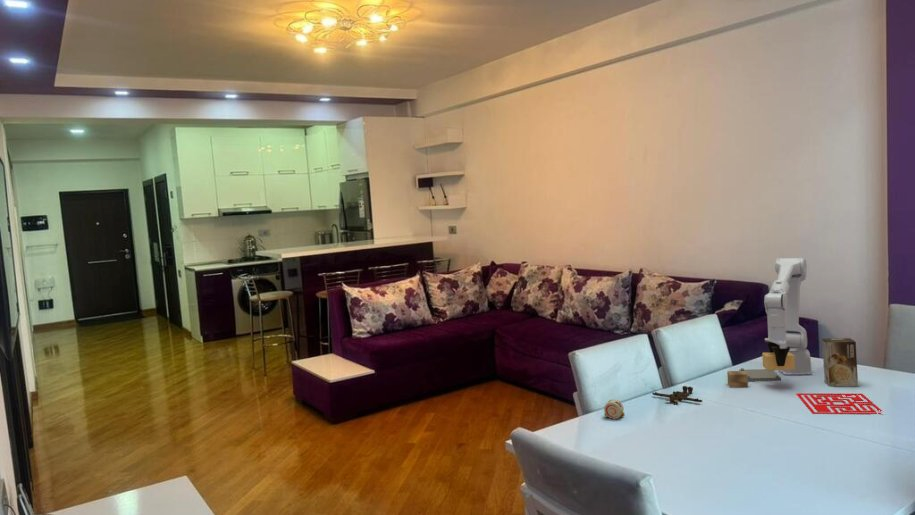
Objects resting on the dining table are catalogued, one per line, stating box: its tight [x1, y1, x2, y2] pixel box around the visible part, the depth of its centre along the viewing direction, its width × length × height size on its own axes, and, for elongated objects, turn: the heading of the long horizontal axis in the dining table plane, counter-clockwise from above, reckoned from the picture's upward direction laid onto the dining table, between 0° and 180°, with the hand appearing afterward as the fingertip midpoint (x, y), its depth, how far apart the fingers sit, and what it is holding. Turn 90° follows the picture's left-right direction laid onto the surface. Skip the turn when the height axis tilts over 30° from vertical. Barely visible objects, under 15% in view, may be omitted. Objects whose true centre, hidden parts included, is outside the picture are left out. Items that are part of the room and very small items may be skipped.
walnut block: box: [726, 370, 749, 389], centre depth 226 cm, size 6×4×5 cm
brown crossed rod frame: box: [651, 385, 703, 404], centre depth 218 cm, size 18×4×14 cm
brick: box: [761, 352, 795, 371], centre depth 221 cm, size 9×6×5 cm, turn 79°
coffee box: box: [821, 337, 859, 388], centre depth 218 cm, size 9×6×16 cm
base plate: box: [738, 367, 782, 383], centre depth 235 cm, size 12×12×2 cm
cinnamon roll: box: [603, 398, 625, 420], centre depth 204 cm, size 4×6×6 cm
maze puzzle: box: [795, 392, 883, 415], centre depth 200 cm, size 20×20×1 cm
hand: (778, 363), depth 221 cm, fingers closed on brick, 6 cm apart
